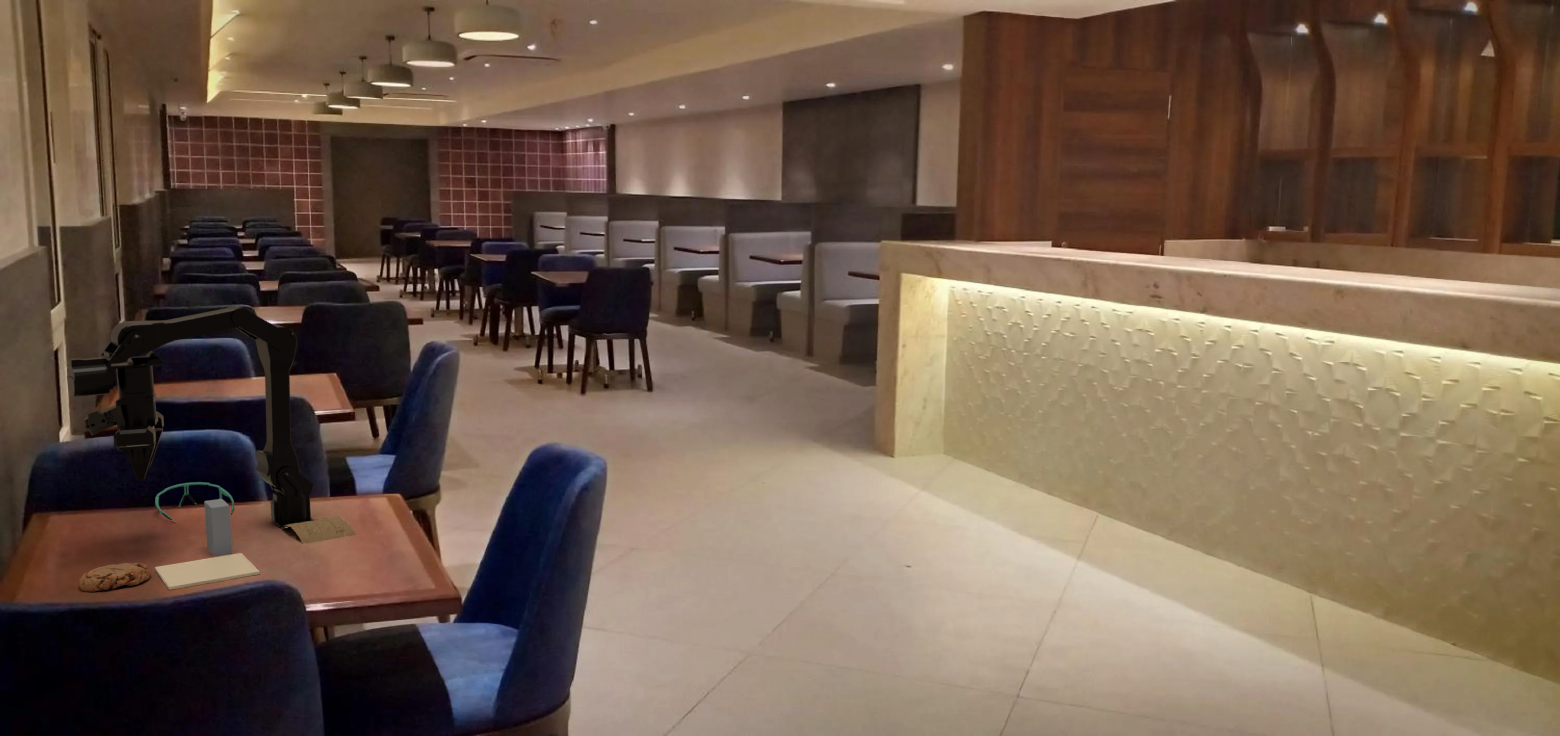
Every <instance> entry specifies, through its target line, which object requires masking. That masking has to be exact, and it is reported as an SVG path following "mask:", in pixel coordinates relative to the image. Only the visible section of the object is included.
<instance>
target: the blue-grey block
mask: <svg viewBox="0 0 1560 736" xmlns="http://www.w3.org/2000/svg"><path fill="white" fill-rule="evenodd" d="M203 503H204V519H205V534H206V548H207V550H208V551H209V552H210V553H211V554H212V556H213V557H220V556H226V555H232V554H233V542H232V527H231V515H230V513H231V510H230V509H231V508H230V505H229V504H228V502H226V501H225V500H224V499H223V498H222V499H219V498H218V499H211V500H205V501H204V502H203Z"/></svg>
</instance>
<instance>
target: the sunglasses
mask: <svg viewBox="0 0 1560 736" xmlns="http://www.w3.org/2000/svg"><path fill="white" fill-rule="evenodd" d="M198 485H199V486H207V485H208V487H209V486H210V487H215V488H218V491H219V493H218V494H219V498H218V499H223V496H225V497H228V498H229V499H230V501H231V503H232V505H231V508H230V509H231V510H230V513H231V512H232V511H234V510H235V501H234V499H233V496H232V495H231V494H230V493H229V491H227V490H226V489H224V488H223V487H221V486H220V485H217V484H213V483H210V482H201V481H198V482H197V481H196V482H185V483H178V484H175V485H172V486H169V487H167V488H164V489H163V490H161V491H160V492H158V493H157V494H156V496H155V501H154V503H155V504H154V506H155V507H156V508H157V510H159V511H158V512H159V513H160V514H161V515H163V516H164V517H165V518H166V519H168V520H169V519H170V520H175V519H174V518H172V517H171V516H170V515H168V514H167V513H166V512H165V511H162V510H163V509H161V508H160V503H159V502H160V497H161V495H163V494H164V493H166V492H167V491H170V490H173V489H175V488H179V487H183V489H184V491H183V493H184V494H183V495H182V498H181V500H180V501H179V505H178V507H182V506H183V504H184V502H185V498H189V499H190V501H191V503H192V504H193V505H197V503H196V500H195V499H194V498H193V496H191V494H189V493H190V491H189V487H190V486H198ZM170 520H169V521H170Z"/></svg>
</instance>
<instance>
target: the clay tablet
mask: <svg viewBox="0 0 1560 736" xmlns="http://www.w3.org/2000/svg"><path fill="white" fill-rule="evenodd" d="M313 520H314V519H313ZM285 527H291V528H290V529H292V531H294V532H295V534H296V535H297V537H298V538H299V539H300V542H301V544H312V543H317V542H323V541H330V540H336V539H341V537H342V538H346V537H345V536H348V537H354V536H355V535H356V532H355V531H354V529H353V528H352V525H351V524H350V523H349V522H348V521H346V520H344V519H343V517H340V516H333V517H329V518H328V517H327V518H323V519H315V520H314V521H307V522H301V523H294V524H288V525H285V526H283V527H281V529H282V528H285ZM353 535H354V536H353Z"/></svg>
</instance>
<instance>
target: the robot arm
mask: <svg viewBox="0 0 1560 736" xmlns="http://www.w3.org/2000/svg"><path fill="white" fill-rule="evenodd" d="M232 329H237V330H239V332H241V333H243V334H245V335H246V336H248V337H249V338H250V339H252V340H254V341H255V344H256V348H257V352H258V357H259V359H260V363H261V365H262V368H263V371H264V383H265V384H264V387H265V390H264V394H265V415H266V416H265V420H266V421H265V424H266V442H265V445H264V448H263V450H256V451H255V455H256V460H257V462H256V463H257V464H256V468H255V471H256V472H259V476H260V478H261V479H262V481H264V482H265V483H267V484H269V486H270V488H271V490H272V491H275V492H272V500H270V503H269V504H270V517H271V518H270V519H271V521H272V522H273V523H274V524H275V523H276V524H277V525H276V524H275V525H276V526H278V527H279V528H282V527H283V526H285V525H288V524H294V523H301V522H307V521H314V519H313V518H312V515H311V497H310V495H311V493H312V490H313V487H314V484H313V483H312V482H311V481H310V480H309V479H307V478H306V477H304V476H303V475H302V474H301V469H300V465H299V460H298V456H297V454H296V451H295V449H294V446H293V443H292V425H291V424H292V422H291V418H292V417H291V389H290V388H291V387H290V385H291V384H290V380H291V379H290V376H291V375H290V371H291V369H292V366H293V363H294V361H295V357H296V352H297V346H298V339H297V336H296V335H297V334H296V333H295V332H294V331H292V330H291V328H288V327H286V326H281V325H278V324H272V323H271V322H269V321H267V320H265V319H263V318H262V317H260V316H258V315H256V314H254V313H253V312H251V311H250V310H249V309H248V308H247V307H244V306H239V305H231V306H229V307H227V308H221V309H217V310H212V311H211V310H210V311H206V312H201V313H195V314H191V315H186V316H181V317H175V318H172V319H171V318H170V319H165V320H131V321H130V320H129V321H122V322H119V323H117V324H116V325H114V327H113V329H112V330H111V334H110V340H109V342H108V344H107V345H106V346H105V348H104V349H103V351H102V352H101V353H100V355H99V357H89V358H79V357H77V358H69V359H68V364H69V365H68V372H67V373H68V375H66V380H67V387H68V391H69V394H70V397H71V398H79V397H81V398H82V397H91V396H100V395H108V394H110V392H111V391H110V390H114V388H116V385H117V390H118V391H117V392H118V398H117V399H116V400H115V405H113V406H109V407H106V408H104V409H101V410H100V409H96V410H94V411H90V412H89V413H88V414H87V416H86V417H84V419H83V422H84V424H85V425H84V428H85V429H86V430H88V431H89V433H90V435H91V436H95V435H97V434H99V433H100V432H102V431H105V430H107V429H110V428H113V427H115V426H116V427H117V429H118V430H117V431H116V432H115V434H114V435H113V446H114V447H115V448H116V449H117V450H118V451H122V452H123V453H124V454H126V455H127V457H128V460H129V462H130V464H131V467H132V470H133V473H134V475H135V478H136V480H137V481H144V480H145V478H146V475H147V472H148V470H150V468H151V466H152V463H153V462H154V461H153V460H154V458H155V455H156V451H157V449H158V446H159V443H160V440H161V438H162V437H161V436H162V433H163V431H164V429H163V428H164V426H165V422H164V421H165V420H164V415H163V414H162V413H160V412H159V411H157V407H156V400H157V393H156V392H155V385H154V373H153V366H162V365H164V364H165V361H164V360H163V359H162V358H160V357H159V356H158V355H157V354H156V353H155V352H154V350H157V349H160V348H161V347H163V346H166V345H167V344H170V343H173V342H175V341H179V340H185V339H189V338H190V339H191V338H194V337H198V336H203V335H208V334H212V333H217V332H222V331H227V330H232ZM144 354H145V356H144ZM142 355H143V356H142ZM115 371H116V373H115ZM116 380H117V383H116ZM155 427H158V428H155Z"/></svg>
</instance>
